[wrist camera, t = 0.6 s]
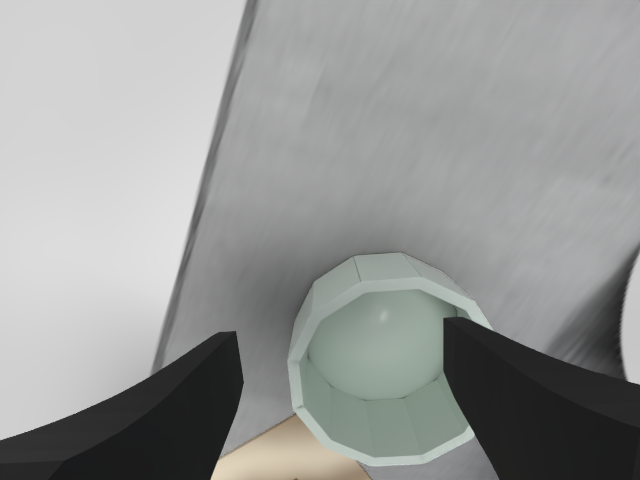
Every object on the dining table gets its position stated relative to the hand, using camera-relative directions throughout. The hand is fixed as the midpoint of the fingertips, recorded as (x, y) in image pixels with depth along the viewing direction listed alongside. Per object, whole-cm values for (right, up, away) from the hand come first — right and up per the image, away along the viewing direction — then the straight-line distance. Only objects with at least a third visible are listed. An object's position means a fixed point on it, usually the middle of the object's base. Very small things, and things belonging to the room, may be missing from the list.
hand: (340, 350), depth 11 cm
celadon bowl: (+3, -2, +11) cm, 11 cm away
